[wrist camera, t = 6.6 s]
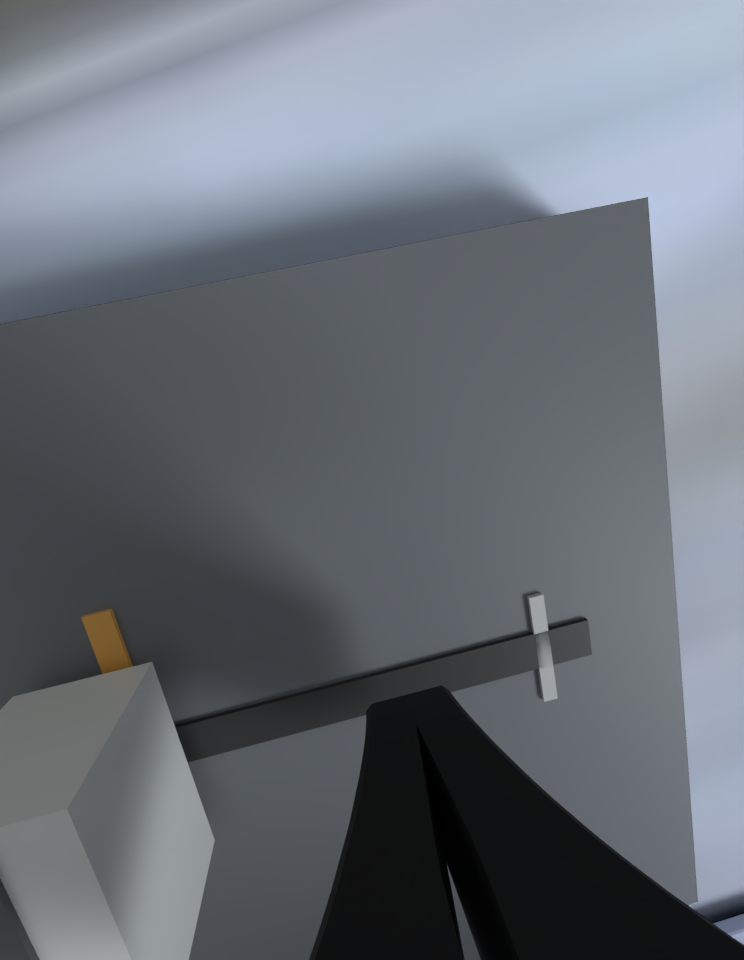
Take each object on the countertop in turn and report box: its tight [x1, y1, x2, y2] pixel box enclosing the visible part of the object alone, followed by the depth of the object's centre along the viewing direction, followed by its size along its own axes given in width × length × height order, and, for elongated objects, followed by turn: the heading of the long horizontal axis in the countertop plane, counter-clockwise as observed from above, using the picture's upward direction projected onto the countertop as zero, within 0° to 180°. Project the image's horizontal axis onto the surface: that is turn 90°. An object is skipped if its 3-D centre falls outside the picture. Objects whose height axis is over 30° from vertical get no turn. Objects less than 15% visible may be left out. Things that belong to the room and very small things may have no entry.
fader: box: [0, 662, 215, 960], centre depth 7 cm, size 4×2×3 cm, turn 12°
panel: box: [0, 197, 698, 960], centre depth 10 cm, size 16×16×2 cm
